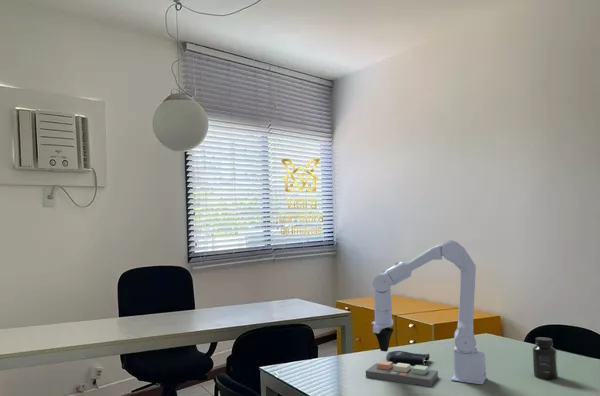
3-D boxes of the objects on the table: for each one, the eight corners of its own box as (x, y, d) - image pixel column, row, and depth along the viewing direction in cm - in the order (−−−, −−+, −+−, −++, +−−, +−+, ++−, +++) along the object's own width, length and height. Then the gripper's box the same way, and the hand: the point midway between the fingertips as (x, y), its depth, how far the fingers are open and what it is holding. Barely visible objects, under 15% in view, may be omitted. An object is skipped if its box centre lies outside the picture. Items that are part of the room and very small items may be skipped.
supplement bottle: (563, 378, 150) (560, 339, 151) (546, 381, 148) (544, 342, 149) (545, 372, 157) (543, 335, 157) (529, 375, 154) (527, 337, 155)
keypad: (438, 377, 154) (437, 370, 154) (430, 386, 146) (429, 379, 146) (376, 368, 165) (376, 362, 165) (365, 377, 156) (365, 370, 156)
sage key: (428, 371, 154) (428, 366, 154) (425, 375, 150) (424, 369, 150) (416, 369, 156) (416, 364, 156) (412, 373, 152) (412, 368, 152)
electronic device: (430, 364, 174) (390, 354, 181) (431, 350, 174) (391, 340, 181) (423, 375, 166) (382, 364, 173) (425, 360, 165) (383, 349, 172)
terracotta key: (392, 366, 160) (392, 362, 160) (388, 370, 156) (388, 365, 156) (381, 365, 162) (381, 360, 162) (377, 368, 158) (377, 363, 158)
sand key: (410, 369, 157) (410, 364, 157) (406, 372, 153) (406, 367, 153) (398, 367, 159) (398, 362, 159) (394, 370, 155) (394, 365, 155)
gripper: (379, 305, 168) (380, 344, 168) (363, 312, 156) (364, 354, 155) (398, 306, 165) (399, 346, 164) (384, 314, 152) (385, 357, 152)
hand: (384, 350), depth 159 cm, fingers closed
